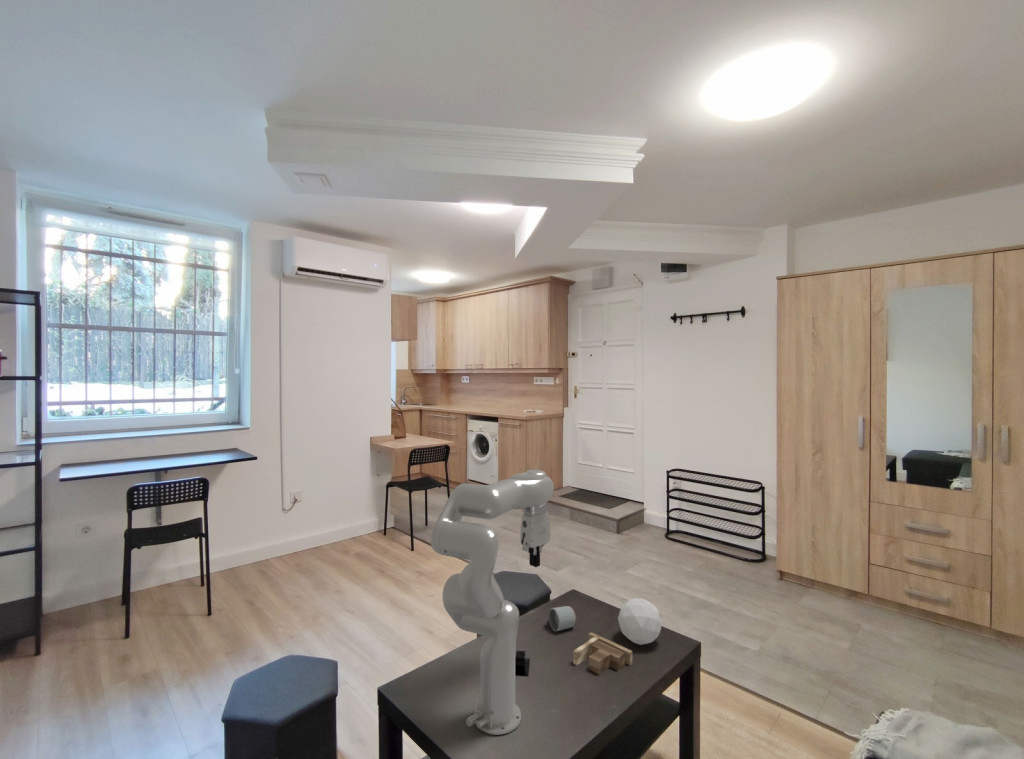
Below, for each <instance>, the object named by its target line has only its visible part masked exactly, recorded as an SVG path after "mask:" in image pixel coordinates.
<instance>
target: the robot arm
mask: <svg viewBox="0 0 1024 759" xmlns="http://www.w3.org/2000/svg"><path fill="white" fill-rule="evenodd" d="M554 487H555V486H554V482H553V480H552V478H551V477H549V476H547V473H546V472H545V471H544V470H540V469H528V470H526V471H525V472H520V473H514V474H512V475H511V476H510V477H509V479H508V478H506V479H501V480H498V481H496V482H493V483H490V484H475V483H466V482H465V483H460V484H458V485H457V486H456V487H455V488H454V489H453V490H452V492H451V494H450V495H449V497H448V498H447V500H446V502H445V504H444V505H443V507H442V509H441V512H440V513H439V515H438V517H437V520H436V521H435V523H434V525H433V528H432V529H431V530H432V531H431V533H430V545H431V548H432V550H433V551H434V552H435V553H436V554H438V555H441V556H446V557H451V558H458V559H463V560H468V561H470V562H469V563H468V564H466V566H464V568H463V570H462V571H461V572H458V573H457V572H456V573H455V574H452V575H451V576H449V577H448V578H447V580H446V581H445V583H444V586H443V589H442V603H443V607H444V610H445V611H446V612H447V614H448V616H449V617H450V618H451V619H452V621H453V622H454V624H455V625H456V626H457V627H458V628H459V629H461V630H462V631H466V632H470V633H472V634H477V635H481V636H484V637H487V638H488V639H487V641H486V642H485V643H484V644H483V646H482V647H481V650H480V654H479V665H480V666H479V673H480V674H479V684H480V686H479V703H478V704H477V705H476V708H475V710H474V712H473V713H474V714H473V715H470V716H469V717H467V718H466V719H465V723H466V725H467V727H468V728H471V726H474V724H475V726H476V728H478V729H479V730H480V731H482V733H483V732H484V733H486V734H489V735H492V736H493V735H494V736H495V735H498V736H499V735H505V734H508V733H510V732H512V731H514V730H515V729H516V728H518V726H519V725H520V723H521V721H522V711H521V709H520V706H518V704H517V703H516V676H515V658H516V651H517V650H516V648H517V646H516V644H517V634H518V628H519V622H520V611H519V608H518V607H517V605H516V604H515V603H513V602H512V601H510V600H507V599H505V598H504V595H503V592H502V590H501V587H500V586H499V583H498V582H497V579H495V576H494V574H493V573H494V569H495V566H496V562H497V561H496V560H497V557H498V553H499V552H498V551H499V543H500V542H499V538H498V534H497V533H496V531H495V530H494V529H493V528H492V527H490V526H489V525H485V524H481V523H475V522H470V521H462V518H463V517H467V518H474V519H481V520H482V519H483V520H493V519H496V518H497V517H500V516H502V515H504V514H506V513H507V512H508V513H509V512H510V511H511V510H521V509H522V513H523V514H522V516H521V523H520V534H519V535H520V536H519V537H520V538H519V539H520V544H521V545H522V548H521V549H522V551H523V552H527V554H529V561H528V562H529V563H528V564H529V566H532V567H534V568H539V567H540V566H541V553H542V551H543V550H542V549H543V546H545V545H546V544H548V543H549V542H550V540H551V524H550V516H549V512H548V511H547V502H549V501H550V500H551V498H552V497H553V494H554V489H555V488H554Z"/></svg>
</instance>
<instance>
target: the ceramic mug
mask: <svg viewBox="0 0 1024 759" xmlns="http://www.w3.org/2000/svg"><path fill="white" fill-rule="evenodd" d="M547 615H548V622H549V626H550V628H551V629H552V631H554V632H559V631H563V630H567V629H570V628H572V627H574V626H575V625H576V622H577V615H576V612H575V610H574V609H573V607H571V606H568V605H566V606H565V605H563V606H558V607H552V608H550V609H549V611H548V614H547Z"/></svg>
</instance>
